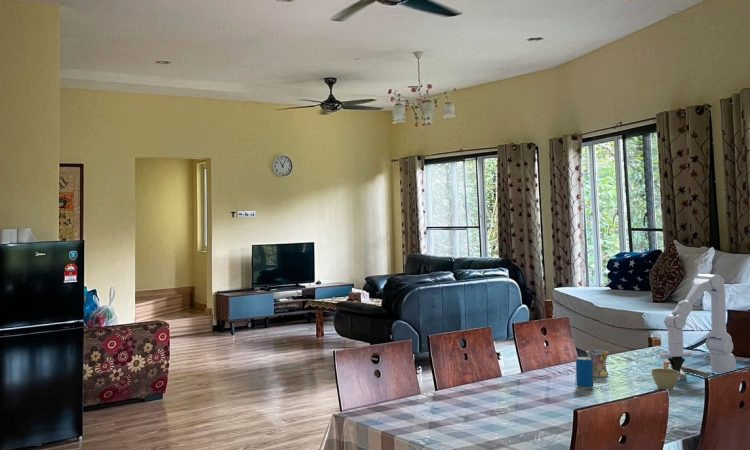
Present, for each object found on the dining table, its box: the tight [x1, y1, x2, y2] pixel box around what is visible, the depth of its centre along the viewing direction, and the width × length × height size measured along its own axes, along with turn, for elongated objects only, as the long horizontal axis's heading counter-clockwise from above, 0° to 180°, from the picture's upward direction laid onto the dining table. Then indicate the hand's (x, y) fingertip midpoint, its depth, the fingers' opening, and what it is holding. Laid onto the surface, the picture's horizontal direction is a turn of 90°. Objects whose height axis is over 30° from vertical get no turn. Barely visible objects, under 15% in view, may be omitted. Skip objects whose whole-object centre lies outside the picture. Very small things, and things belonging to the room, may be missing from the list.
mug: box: [585, 349, 609, 378], centre depth 269 cm, size 12×9×11 cm
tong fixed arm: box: [670, 364, 711, 379], centre depth 268 cm, size 4×21×2 cm, turn 14°
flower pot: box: [651, 368, 679, 391], centre depth 243 cm, size 10×10×7 cm
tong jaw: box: [678, 369, 688, 381], centre depth 263 cm, size 16×3×2 cm, turn 163°
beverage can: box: [575, 356, 594, 390], centre depth 249 cm, size 6×6×12 cm
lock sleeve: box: [663, 360, 671, 369], centre depth 277 cm, size 7×2×4 cm, turn 104°
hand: (676, 374), depth 260 cm, fingers closed
